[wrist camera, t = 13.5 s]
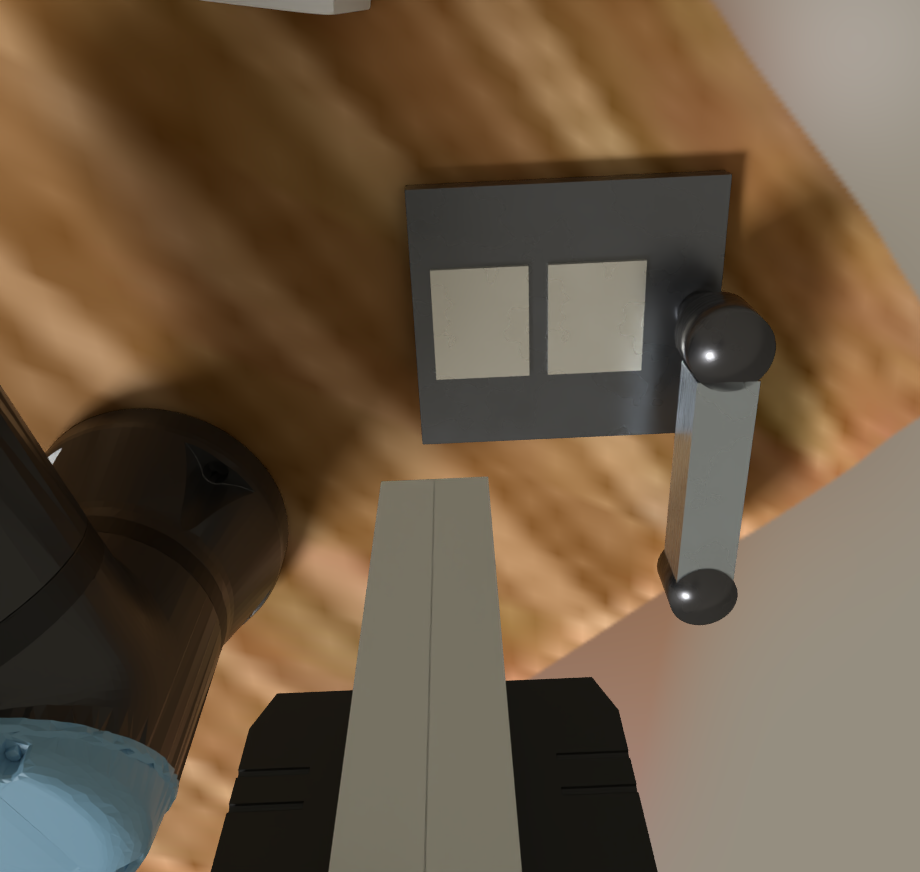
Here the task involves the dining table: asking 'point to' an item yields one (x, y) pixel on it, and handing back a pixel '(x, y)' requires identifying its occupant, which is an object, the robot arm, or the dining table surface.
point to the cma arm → (712, 451)
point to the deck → (558, 301)
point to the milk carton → (305, 5)
